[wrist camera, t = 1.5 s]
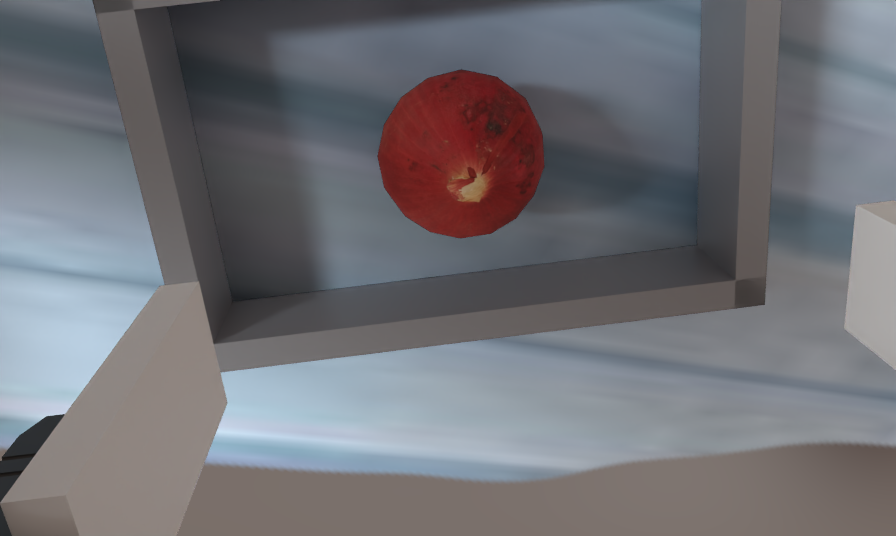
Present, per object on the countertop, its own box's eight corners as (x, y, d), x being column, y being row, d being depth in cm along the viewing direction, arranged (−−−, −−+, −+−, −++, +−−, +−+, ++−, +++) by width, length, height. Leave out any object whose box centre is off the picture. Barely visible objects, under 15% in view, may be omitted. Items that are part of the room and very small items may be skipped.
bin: (210, 330, 33) (188, 376, 30) (125, -28, 28) (85, -27, 24) (723, 267, 34) (764, 304, 30) (735, -93, 29) (787, -101, 25)
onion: (436, 29, 30) (453, 50, 22) (553, 115, 31) (606, 162, 24) (352, 153, 31) (342, 212, 24) (468, 230, 33) (493, 308, 25)
